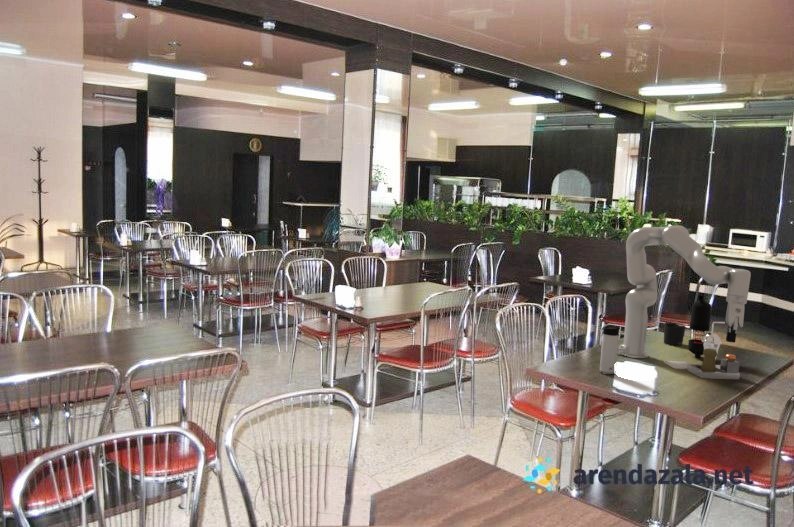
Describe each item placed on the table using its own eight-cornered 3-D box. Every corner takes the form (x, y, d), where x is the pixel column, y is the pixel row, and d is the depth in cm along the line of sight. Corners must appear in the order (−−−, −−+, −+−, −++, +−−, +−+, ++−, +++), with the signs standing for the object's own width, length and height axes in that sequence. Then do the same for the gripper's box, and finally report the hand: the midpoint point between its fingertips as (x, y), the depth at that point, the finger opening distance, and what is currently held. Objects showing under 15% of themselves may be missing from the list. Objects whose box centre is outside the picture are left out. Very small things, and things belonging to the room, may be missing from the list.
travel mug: (614, 376, 248) (618, 328, 246) (597, 373, 252) (601, 326, 249) (617, 372, 253) (621, 326, 251) (601, 369, 257) (605, 323, 254)
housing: (701, 378, 250) (703, 361, 249) (686, 369, 262) (688, 354, 261) (739, 379, 251) (741, 362, 250) (722, 370, 263) (724, 355, 262)
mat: (674, 368, 263) (674, 367, 263) (663, 362, 273) (663, 360, 273) (696, 369, 263) (696, 368, 263) (685, 362, 273) (685, 361, 273)
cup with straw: (711, 360, 280) (715, 317, 277) (724, 365, 271) (729, 322, 269) (694, 360, 278) (699, 317, 276) (708, 365, 270) (712, 322, 267)
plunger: (727, 369, 252) (729, 356, 251) (722, 367, 256) (724, 353, 255) (736, 369, 252) (737, 356, 251) (731, 367, 256) (732, 354, 255)
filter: (705, 361, 276) (712, 297, 273) (684, 357, 282) (690, 294, 278) (711, 355, 287) (717, 293, 284) (690, 352, 293) (696, 291, 289)
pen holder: (665, 345, 305) (667, 326, 303) (660, 341, 314) (662, 322, 313) (685, 347, 303) (687, 327, 302) (679, 342, 312) (681, 323, 311)
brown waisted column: (709, 377, 252) (712, 351, 251) (696, 373, 258) (699, 347, 256) (719, 375, 255) (721, 350, 254) (705, 371, 260) (708, 346, 259)
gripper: (751, 303, 242) (744, 347, 245) (742, 296, 256) (736, 338, 259) (730, 300, 244) (724, 344, 247) (722, 294, 258) (716, 336, 261)
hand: (730, 341), depth 253 cm, fingers closed
